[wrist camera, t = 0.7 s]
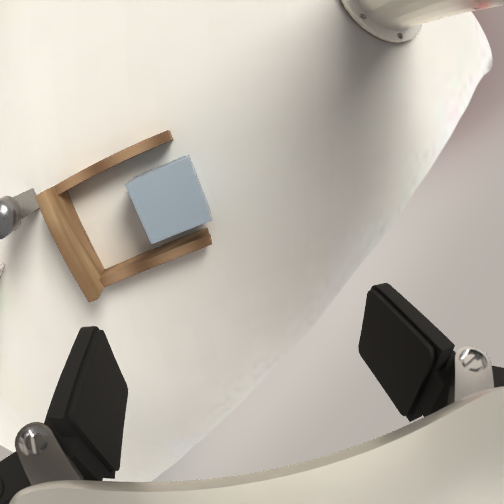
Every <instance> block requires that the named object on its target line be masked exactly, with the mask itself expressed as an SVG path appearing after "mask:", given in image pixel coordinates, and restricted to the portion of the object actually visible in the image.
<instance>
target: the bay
mask: <svg viewBox="0 0 504 504" xmlns="http://www.w3.org/2000/svg"><path fill="white" fill-rule="evenodd" d="M171 140H173V138H172V135H171V133H170V131H169V130H167V131H165V132H163V133H160V134H158V135H155V136H153V137H151V138H148V139H146V140H144V141H141V142H139V143H137V144H135V145H132V146H130V147H128V148H126V149H124V150H122V151H120V152H118V153H115V154H113V155H111V156H109V157H107V158H105V159H103V160H101V161H99V162H97V163H95V164H93V165H91V166H90V167H88V168H86V169H84V170H82V171H80V172H78V173H77V174H75V175H73V176H71V177H69V178H68V179H66V180H64V181H62V182H61V183H59V184H57V185H55V186H54V187H51V188H49V189H47V190H45V191H43V192H41V193H40V194H38V195H37V196H35V199H36V201H37V203H38V206H39V208H40V210H41V213H42V215H43V217H44V219H45V221H46V224H47V226H48V228H49V230H50V232H51V234H52V236H53V238H54V240H55V242H56V244H57V246H58V248H59V250H60V252H61V254H62V256H63V258H64V260H65V262H66V263H67V265H68V267H69V269H70V271H71V273H72V274H73V276H74V278H75V280H76V281H77V283H78V285H79V287H80V288H81V290H82V292H83V293H84V295H85V297H86V298H87V300H88V302H92V301H94V300H97V299H98V298H99V296H100V294H101V292H102V290H103V288H104V287H106V286H108V285H110V284H113V283H115V282H118V281H120V280H123V279H125V278H128V277H130V276H133V275H135V274H137V273H140V272H142V271H145V270H147V269H150V268H152V267H155V266H157V265H160V264H162V263H165V262H167V261H170V260H173V259H175V258H178V257H180V256H183V255H185V254H188V253H190V252H193V251H195V250H198V249H201V248H203V247H206V246H208V245H211V244H212V241H211V236H210V234H209V231H208V229H207V228H205V229H203V230H200V231H198V232H195V233H192V234H190V235H187V236H185V237H182V238H180V239H177V240H175V241H172V242H170V243H167V244H165V245H162V246H160V247H158V248H155V249H153V250H150V251H148V252H145V253H143V254H141V255H138V256H136V257H133V258H131V259H129V260H126V261H124V262H121V263H119V264H117V265H114V266H112V267H110V268H107V269H104V267H103V266H102V264H101V262H100V260H99V258H98V256H97V254H96V252H95V250H94V248H93V246H92V244H91V242H90V240H89V238H88V236H87V234H86V232H85V230H84V228H83V226H82V224H81V222H80V219H79V217H78V215H77V213H76V211H75V208H74V206H73V204H72V202H71V199H70V197H69V195H68V192H67V190H68V189H70V188H72V187H74V186H76V185H77V184H79V183H81V182H83V181H85V180H87V179H89V178H91V177H93V176H94V175H96V174H98V173H100V172H102V171H104V170H106V169H108V168H110V167H113V166H115V165H117V164H119V163H121V162H123V161H125V160H127V159H129V158H132V157H134V156H136V155H138V154H141V153H143V152H145V151H147V150H150V149H152V148H154V147H157V146H159V145H161V144H164V143H166V142H169V141H171Z"/></svg>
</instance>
